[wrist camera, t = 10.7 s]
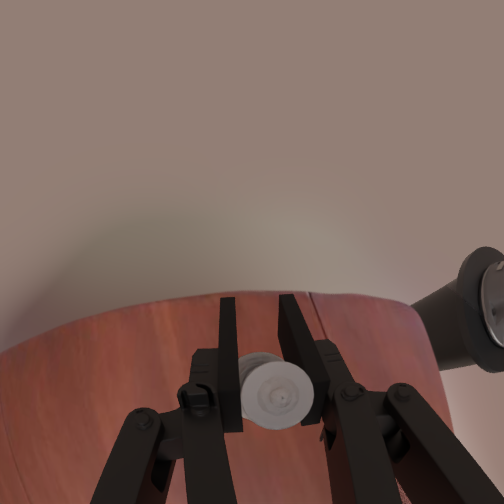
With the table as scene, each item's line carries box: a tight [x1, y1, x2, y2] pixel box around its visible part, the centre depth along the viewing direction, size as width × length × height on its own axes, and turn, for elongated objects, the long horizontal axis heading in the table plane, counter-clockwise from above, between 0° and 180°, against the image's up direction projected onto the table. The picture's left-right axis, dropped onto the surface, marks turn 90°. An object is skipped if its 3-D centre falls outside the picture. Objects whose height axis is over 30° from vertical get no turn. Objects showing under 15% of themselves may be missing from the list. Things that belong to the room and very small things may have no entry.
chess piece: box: [238, 352, 314, 430], centre depth 11 cm, size 4×4×10 cm
